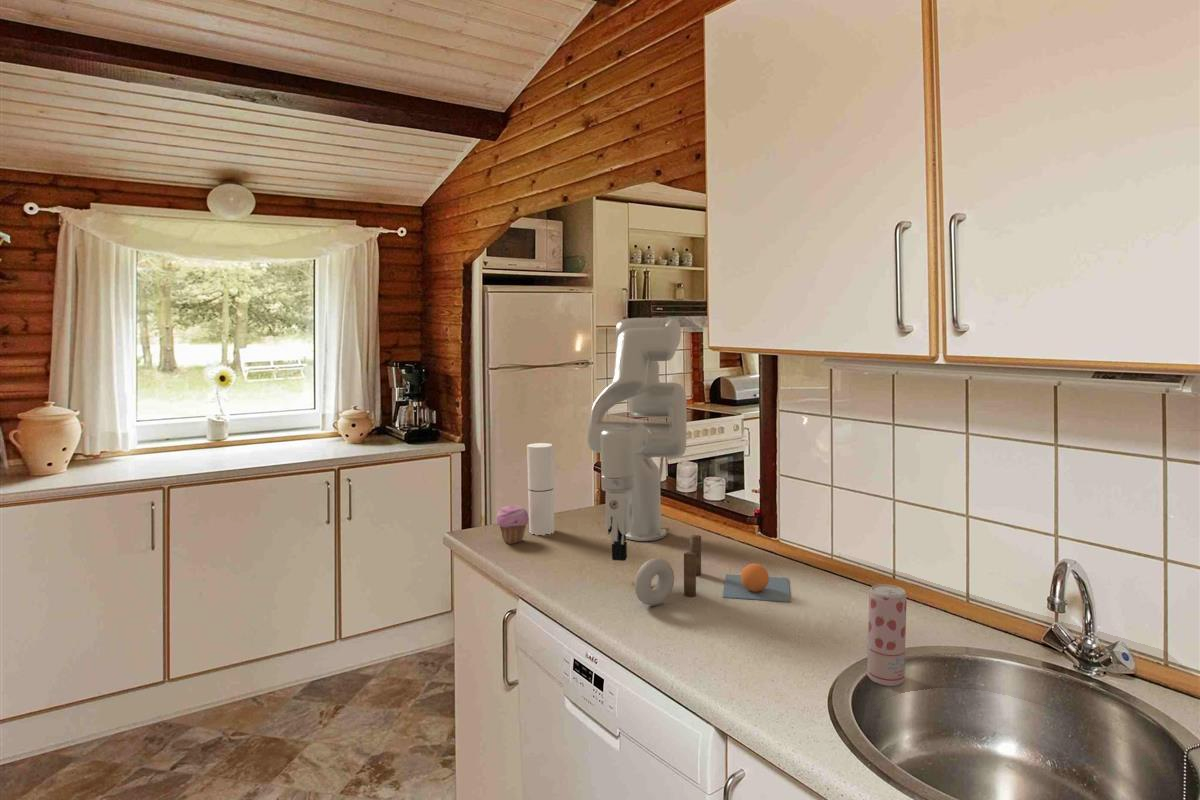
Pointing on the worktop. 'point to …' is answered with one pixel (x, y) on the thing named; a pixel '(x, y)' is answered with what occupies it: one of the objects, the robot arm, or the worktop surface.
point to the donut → (645, 578)
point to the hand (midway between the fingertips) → (619, 559)
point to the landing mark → (772, 592)
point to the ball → (754, 577)
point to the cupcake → (512, 523)
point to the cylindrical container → (540, 488)
